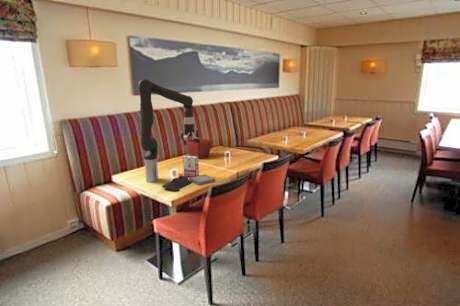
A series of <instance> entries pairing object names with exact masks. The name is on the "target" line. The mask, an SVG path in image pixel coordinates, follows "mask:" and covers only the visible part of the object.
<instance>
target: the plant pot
mask: <svg viewBox="0 0 460 306" xmlns="http://www.w3.org/2000/svg"><path fill="white" fill-rule="evenodd" d="M196 141H197V142H196V144H195V143H194V138H193V139H189V140H186V145H185V146H186V149H187V152H188V154H189V155H188V156H197V157H198V160H202V159H205V158H208V157H209V155H210V152H211V149H212V142H213V140H212V139H206V138H196Z"/></svg>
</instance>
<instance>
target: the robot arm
mask: <svg viewBox="0 0 460 306" xmlns="http://www.w3.org/2000/svg"><path fill="white" fill-rule="evenodd" d="M137 87H138V92H139V97H140V105H139V110H140V111H139V114H140V129H141V131H140V132H141V133H140V147H141V149H142V150H143V151H145V152H146V153H145V154H144V155H143V157H144V160H143V161H144V170H145V182H148V183H155V182H158V181H159V179H160V178H159V168H158V153H159V151H158V141H157V139H156V138H155V136H154V137H153V136H151V132H152V131H151V130H152V128H153V124H154V119H155V118H154V117H155V116H154V115H155V114H154V107H153V102H152V94H155V95H158V96H160V97H163V98H165V99H167V100H170V101H173V102H176V103H180V104H182V105H183V125H184V126H183V129H184V130H183V131H180V140H182V143H183V145H184V146H186V141H187V139H188V137H189V138H190V137H192V138H193V139H194V143H195V144H196V142H197V141H196V139H199V137H200V136H199V130H198V129H195V118H194V110H193V104H194V98H192V97H191V96H190V95H186V94H182V93H180V92H178V91H176V90H173V89H171V88H170V89H169V88H167V87H163V86H160V85H158V84H156V83H154V82H152V81H151V80H149V79H146V78H144V79H141V80H140V81H139V82H138V86H137Z"/></svg>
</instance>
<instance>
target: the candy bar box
mask: <svg viewBox="0 0 460 306" xmlns="http://www.w3.org/2000/svg"><path fill="white" fill-rule="evenodd" d="M182 161H183V162H182V163H183V174H184V175H183V176H185V177H187V178H191V177H196V176H200V167H199V165H200V164H199V159H198V157H197V156H190V155H185V156H182Z"/></svg>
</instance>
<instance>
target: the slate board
mask: <svg viewBox="0 0 460 306" xmlns="http://www.w3.org/2000/svg"><path fill="white" fill-rule="evenodd" d="M188 180H189V181H191V182H192V183H193V184H195V185H197V186H202V185H206V184H210V183H213V182H216V179H215V178H214V177H213V176H210V175H207V174H201V175H200V174H199V176H196V177H191V178H190V177H188Z"/></svg>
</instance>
